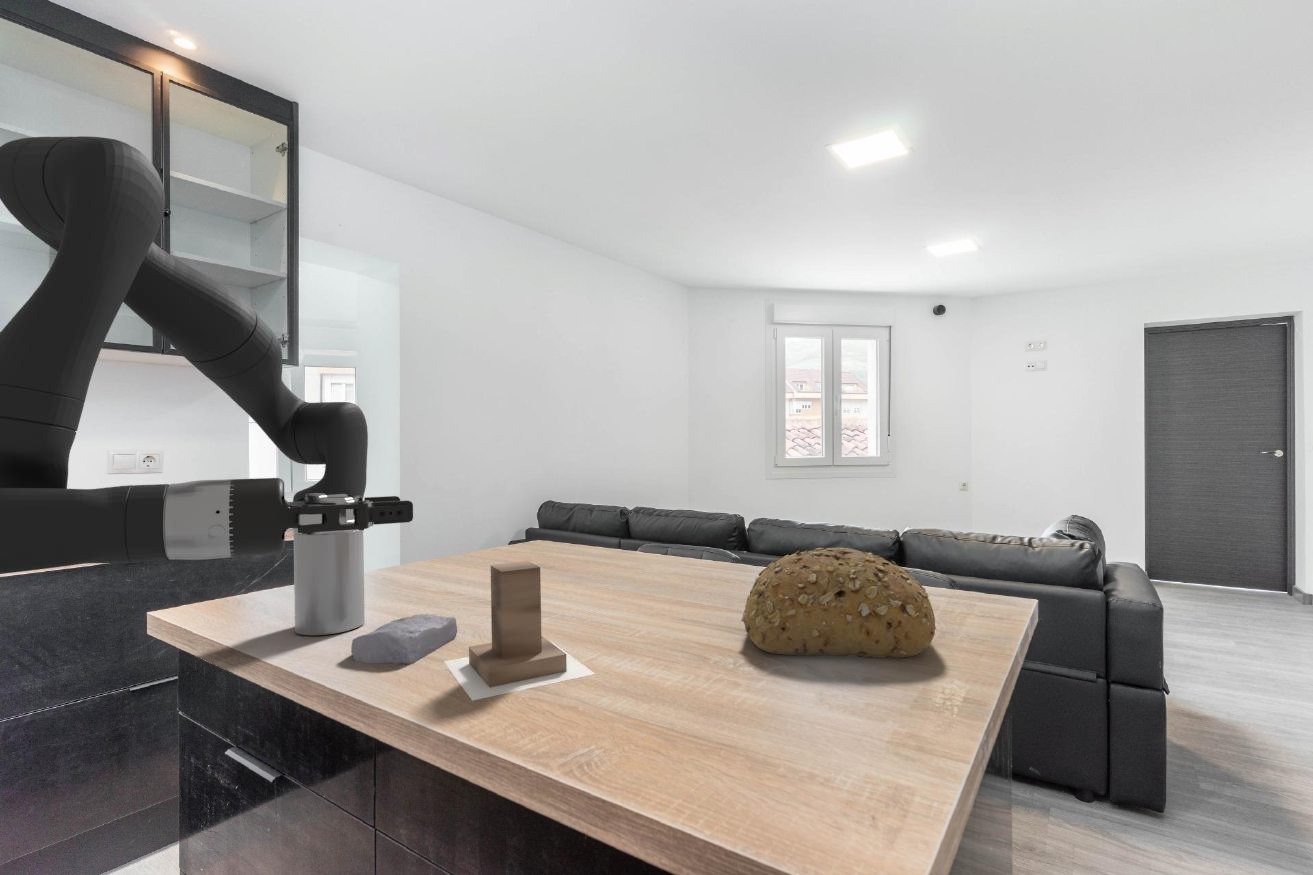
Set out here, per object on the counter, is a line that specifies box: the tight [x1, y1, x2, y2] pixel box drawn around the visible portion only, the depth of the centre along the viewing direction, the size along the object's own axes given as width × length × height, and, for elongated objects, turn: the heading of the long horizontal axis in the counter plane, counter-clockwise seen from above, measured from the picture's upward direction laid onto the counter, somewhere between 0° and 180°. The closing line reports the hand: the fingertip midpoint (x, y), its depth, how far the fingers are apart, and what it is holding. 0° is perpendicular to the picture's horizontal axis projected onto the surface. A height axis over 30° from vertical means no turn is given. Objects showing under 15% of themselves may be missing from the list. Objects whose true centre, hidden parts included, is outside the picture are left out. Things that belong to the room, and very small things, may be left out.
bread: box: [740, 546, 937, 659], centre depth 87 cm, size 24×21×12 cm
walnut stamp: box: [468, 560, 567, 687], centre depth 76 cm, size 9×9×12 cm
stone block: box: [350, 613, 458, 665], centre depth 84 cm, size 12×5×10 cm
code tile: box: [443, 641, 596, 702], centre depth 76 cm, size 14×14×1 cm
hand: (405, 508), depth 70 cm, fingers open, 8 cm apart
